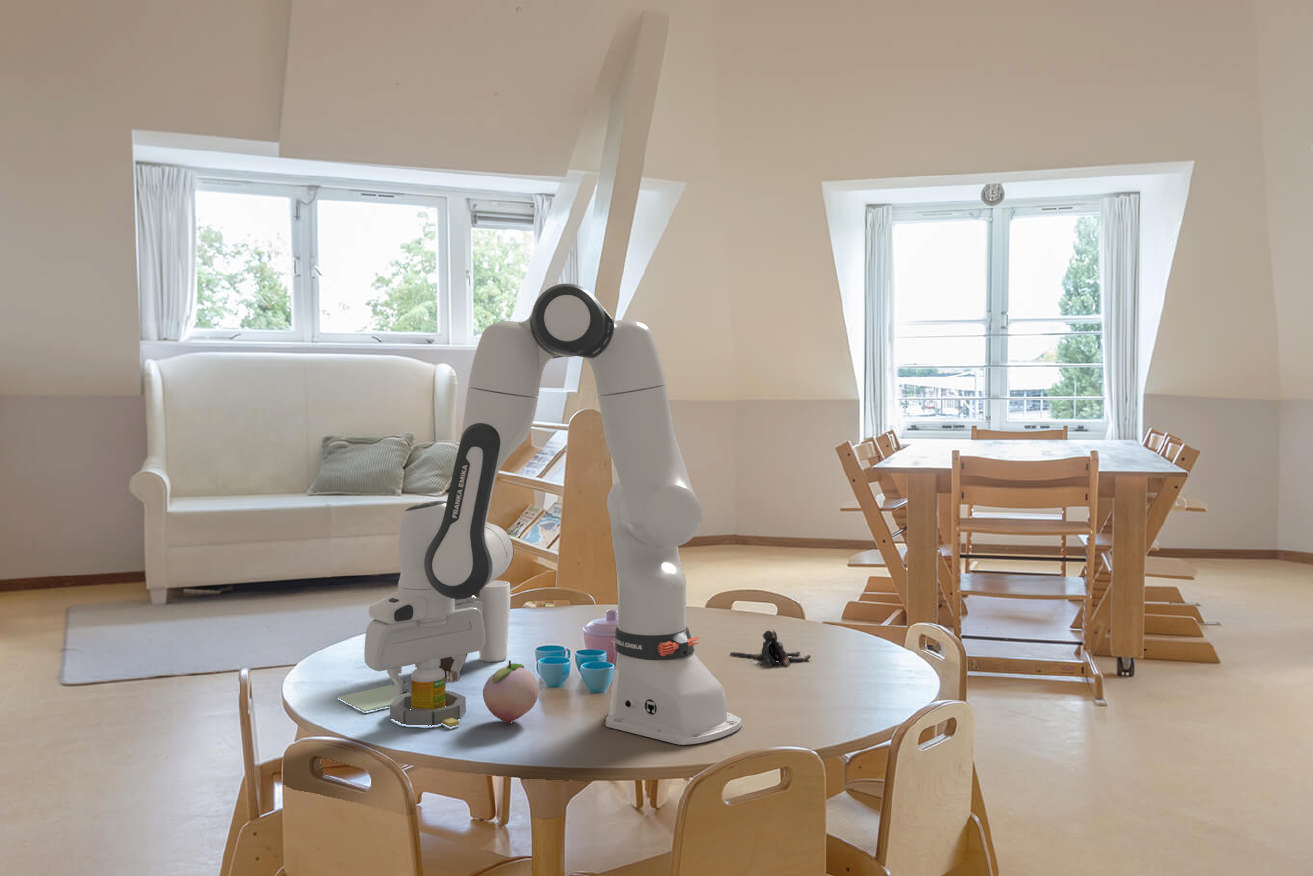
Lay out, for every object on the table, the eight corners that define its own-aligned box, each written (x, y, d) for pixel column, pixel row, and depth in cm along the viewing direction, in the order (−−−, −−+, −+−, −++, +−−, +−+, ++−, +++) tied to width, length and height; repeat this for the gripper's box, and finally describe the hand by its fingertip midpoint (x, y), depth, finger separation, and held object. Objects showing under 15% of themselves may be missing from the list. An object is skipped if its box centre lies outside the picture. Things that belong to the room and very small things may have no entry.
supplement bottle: (437, 723, 156) (436, 662, 156) (405, 720, 157) (404, 660, 157) (450, 712, 162) (450, 653, 161) (420, 710, 163) (419, 651, 162)
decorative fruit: (528, 734, 151) (528, 670, 150) (477, 731, 152) (476, 667, 152) (545, 715, 160) (545, 654, 160) (497, 712, 161) (496, 651, 161)
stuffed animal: (816, 661, 189) (766, 627, 187) (788, 704, 189) (737, 671, 187) (799, 645, 201) (752, 613, 199) (773, 685, 201) (725, 654, 199)
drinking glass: (514, 655, 197) (513, 580, 196) (506, 664, 190) (505, 587, 190) (481, 654, 198) (480, 579, 197) (471, 663, 191) (470, 586, 190)
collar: (485, 720, 158) (484, 704, 157) (422, 736, 150) (422, 720, 150) (433, 698, 169) (433, 683, 169) (373, 712, 161) (373, 697, 161)
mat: (419, 701, 167) (419, 697, 167) (364, 714, 161) (364, 710, 161) (391, 688, 175) (391, 685, 175) (337, 700, 168) (337, 696, 168)
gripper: (471, 590, 168) (472, 671, 169) (359, 608, 154) (360, 696, 155) (492, 596, 163) (493, 679, 164) (378, 615, 149) (379, 705, 150)
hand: (427, 687), depth 159 cm, fingers open, 8 cm apart
